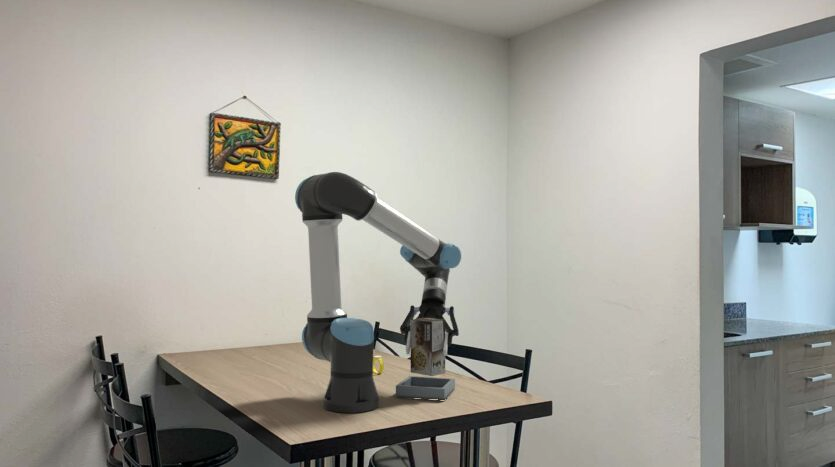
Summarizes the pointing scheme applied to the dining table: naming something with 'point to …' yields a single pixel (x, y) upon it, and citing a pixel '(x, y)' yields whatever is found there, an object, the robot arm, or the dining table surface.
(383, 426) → the dining table surface
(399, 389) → the tray
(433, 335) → the coffee box
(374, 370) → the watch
